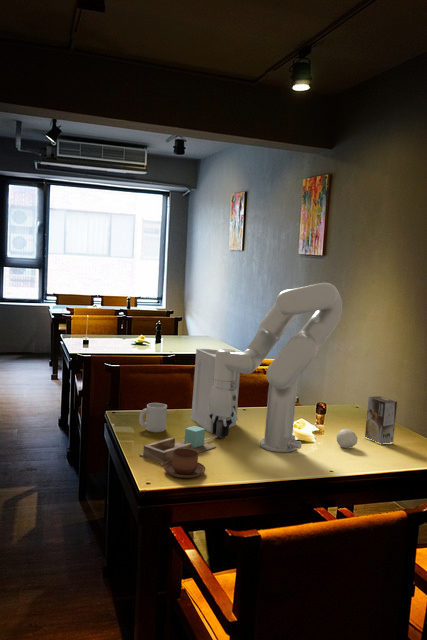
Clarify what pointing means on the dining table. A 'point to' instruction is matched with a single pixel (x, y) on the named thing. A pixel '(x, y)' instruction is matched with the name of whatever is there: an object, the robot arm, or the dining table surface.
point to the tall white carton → (205, 387)
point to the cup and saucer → (184, 464)
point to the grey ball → (346, 438)
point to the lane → (169, 450)
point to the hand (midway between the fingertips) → (220, 434)
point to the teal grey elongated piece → (201, 434)
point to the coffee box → (380, 419)
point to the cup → (154, 417)
